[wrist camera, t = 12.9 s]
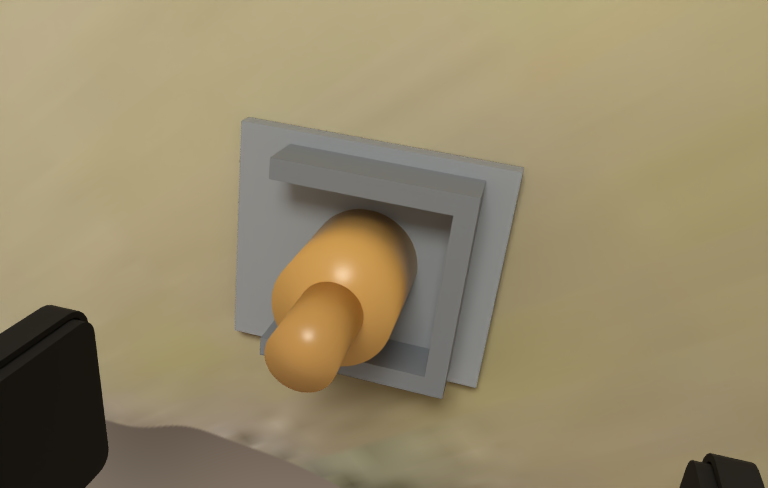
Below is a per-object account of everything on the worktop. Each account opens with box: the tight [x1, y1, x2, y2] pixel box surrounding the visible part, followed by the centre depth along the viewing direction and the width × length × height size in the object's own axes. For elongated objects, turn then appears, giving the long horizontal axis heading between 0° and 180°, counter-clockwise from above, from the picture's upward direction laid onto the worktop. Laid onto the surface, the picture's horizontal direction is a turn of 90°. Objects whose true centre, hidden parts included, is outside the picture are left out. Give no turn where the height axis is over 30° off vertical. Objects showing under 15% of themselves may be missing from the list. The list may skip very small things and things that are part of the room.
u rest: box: [235, 117, 523, 399], centre depth 38 cm, size 16×14×4 cm
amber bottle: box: [264, 209, 417, 392], centre depth 34 cm, size 6×6×11 cm
